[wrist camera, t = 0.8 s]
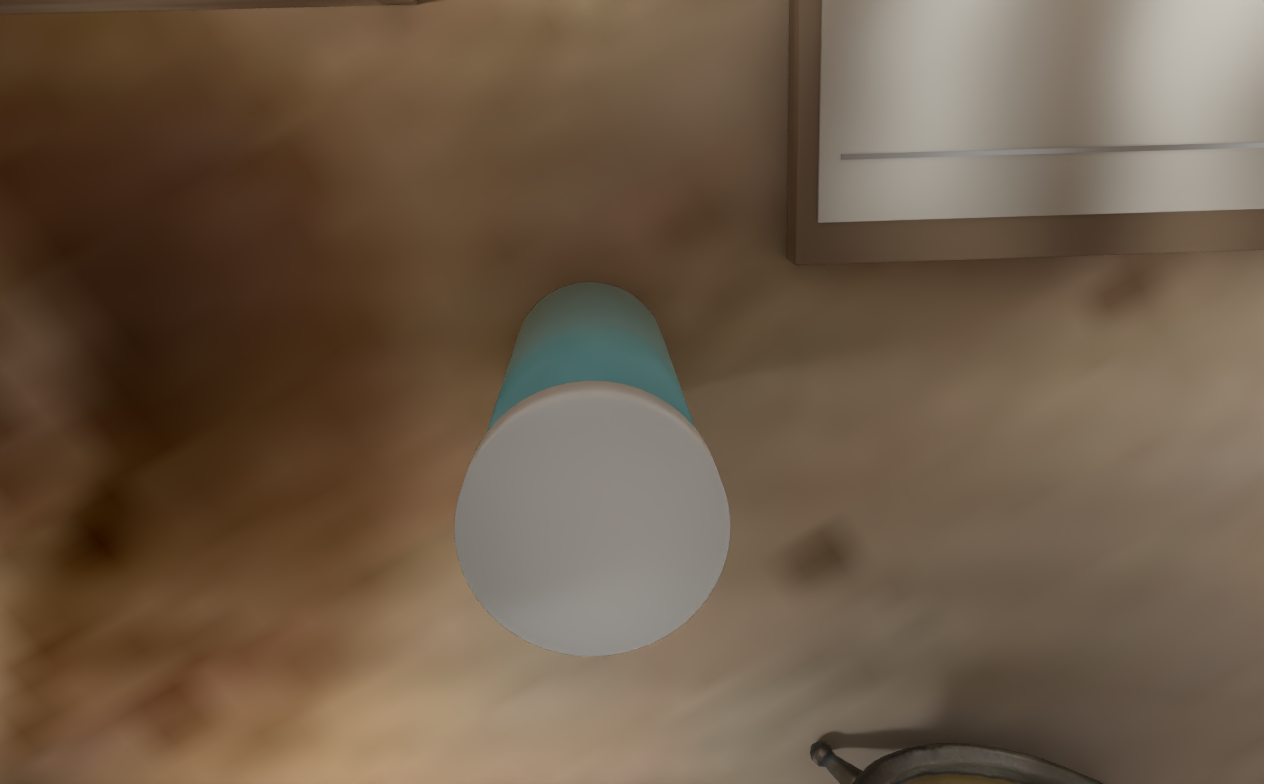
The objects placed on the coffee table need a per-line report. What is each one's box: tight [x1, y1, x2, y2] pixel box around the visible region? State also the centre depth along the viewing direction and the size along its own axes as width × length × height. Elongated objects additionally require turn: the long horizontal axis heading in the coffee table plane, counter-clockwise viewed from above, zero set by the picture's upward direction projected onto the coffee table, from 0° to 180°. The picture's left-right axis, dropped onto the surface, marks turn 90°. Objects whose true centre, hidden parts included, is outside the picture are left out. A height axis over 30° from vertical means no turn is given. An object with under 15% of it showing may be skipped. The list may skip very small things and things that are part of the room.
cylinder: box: [455, 282, 731, 656], centre depth 20 cm, size 4×4×12 cm
